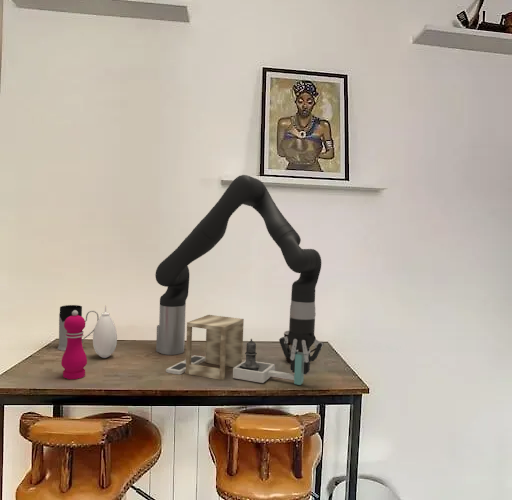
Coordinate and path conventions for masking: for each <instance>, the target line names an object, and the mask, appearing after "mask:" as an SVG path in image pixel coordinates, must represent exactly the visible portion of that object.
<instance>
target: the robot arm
mask: <svg viewBox="0 0 512 500" xmlns="http://www.w3.org/2000/svg"><path fill="white" fill-rule="evenodd" d="M242 205H245V206H249V207H252V209H254V210H255V211H256V212H257V213H258V214H259V216H261V217H262V219H263V221H264V224H265V227H266V231H267V232H268V235H269V236H270V238H272V240H273V241H274V243H276V245H277V247H279V249H280V251H281V254H282V256H283V258H284V261H285V263H286V265H287V267H288V268H289V269H290V270H291V271H292V272H294V273H297V274H299V278H298V279H296V280H294V282H292V284H291V294H290V295H291V296H290V297H291V298H290V300H291V302H290V306H289V322H288V323H289V328H288V331H289V334H288V336H286V337H284V336H282V337H280V338H279V339H278V341H279V344H280V347H281V350H282V352H283V354H284V357H285V358H286V357H288V358H290V360H291V363H290V369H289V370H290V371H291V372H292V374H295V354H296V353H297V352H298V350H299V349H300V350H303V354H304V359H305V360H304V372H303V374H304V375H308V373H309V372H310V370H311V362H315V360H317V359H318V356H319V354H320V352H321V351H322V348H323V347H324V342H323V341H320V340H318V339H316V336H315V328H316V327H315V326H316V324H315V323H316V286H317V284H318V281H319V278H320V277H319V276H320V274H321V270H322V257H321V255H320V253H319V251H317V250H316V249H314V248H301V246H300V244H301V242H302V240H301V236H300V235H299V234H298V231H296V230H295V228H294V227H293V226H292V225H291V223H290V222H289V220H287V218H286V217H285V216H284V215H283V213H282V212H281V210H280V208H278V206H277V205H276V203H275V201H274V199H273V198H272V196H271V194H270V192H269V191H268V189H267V187H266V185H265V184H264V182H263V181H262V180H260V179H258V178H255V177H252V176H250V175H247V174H240V175H238V176H237V177H235V178H234V180H232V182H231V183H230V184H229V185H228V187H227V188H226V190H225V191H224V193H223V194H222V195H221V197H220V198H219V199H218V201H217V202H216V203H215V204H214V206H213V207H212V208H211V209H210V210H209V211H208V213H207V214H206V215H205V216H204V217H203V218H202V219H201V220H200V221H199V223H197V225H196V226H195V227H194V228H193V229H192V230H191V232H190V233H189V234H188V235H187V236H186V237H185V238H184V240H183V241H182V242H181V243H180V244H179V245H178V246H177V248H175V249H174V250H173V251H172V252H171V253H170V254H169V255H168V256H166V258H165V259H163V260H161V262H160V263H159V264H158V266H157V268H156V269H155V274H154V275H155V280H156V283H157V284H159V285H160V286H162V287H167V289H166V291H165V292H164V293H163V294H162V295H161V296H160V298H159V321H158V322H159V323H158V324H157V325H156V343H155V344H156V347H155V352H157V353H160V354H161V355H169V356H171V355H172V356H174V355H181V354H183V353H185V347H186V346H185V345H186V344H185V339H186V337H185V335H186V306H187V305H186V304H187V303H186V302H187V299H188V296H189V287H190V269H189V266H190V264H191V263H193V262H194V261H196V260H197V259H199V258H201V257H202V256H204V255H206V254H207V253H208V252H210V251H211V250H212V249H213V248H214V247H215V246H216V245H218V243H219V242H220V241H221V240H222V239H223V237H224V236H225V234H226V231H227V228H228V223H229V220H230V218H231V217H232V215H233V214H234V213H235V212H236V211H237V210H238V209H239V207H241V206H242ZM288 340H289V341H290V343H291V345H292V350H291V352H290V349H289V347H288V344H287V343H288ZM313 344H314V349H315V348H316V349H315V350H314V351H313V352H312V355H311V353H310V351H311V347H312V346H313Z"/></svg>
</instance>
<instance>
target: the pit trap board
mask: <svg viewBox="0 0 512 500" xmlns="http://www.w3.org/2000/svg"><path fill="white" fill-rule="evenodd" d="M205 358H206V356H203V355H202V356H201V355H197V354H196V355H191V364H196V365H201V364H202V363H204V362H205ZM165 372H166V373H168V374H173V375H178V376H179V375H182V374H183V373H186V359H184V360H182V361H179V362H177V363H176V364H174V365H172V366H169V367H168V368H165Z"/></svg>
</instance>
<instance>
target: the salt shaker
mask: <svg viewBox="0 0 512 500" xmlns="http://www.w3.org/2000/svg"><path fill="white" fill-rule="evenodd" d="M256 346H257V345H256V342H255V341H254V340H253V338H250V340H249V341H248V342H246V351H245V353H244V354H245V360H246V361H245V360H244V361H245V363H243V364H241V366H242V369H247V370H253V371H258V369H259V367H260V365H259V364H257V363H256V361H257V360H256V357H257V356H256V355H257V352H256V350H257V348H256Z"/></svg>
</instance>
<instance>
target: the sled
mask: <svg viewBox="0 0 512 500" xmlns="http://www.w3.org/2000/svg"><path fill="white" fill-rule="evenodd" d="M245 361H246V359H245V360H242V363H240V364H239V365H237V366H236V367H232V379H237V380H238V379H239V380H244V381H250V382H255V383H261V384H264V383H265V382H267V380H269V379H270V378H271V377H273V378H280V379H284V380H285V379H286V380H292V381H294V382H293V384H294V385H297V386H301V385H302V384H303V383H304V379H305V378H304V377H305V376H304V375H305V374H303V372H304V362H305V360H304V354H303V352H298V353H296V354H295V373H291V372H290V373H289V372H284V371H278V370H276V364H274V363H269V362H263V361H262V362H261V361H257V360H256V363H257V364H259V365H260V367H259V369H258V371H253V370H247V369H242V366H241V364H243V363H245Z"/></svg>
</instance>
